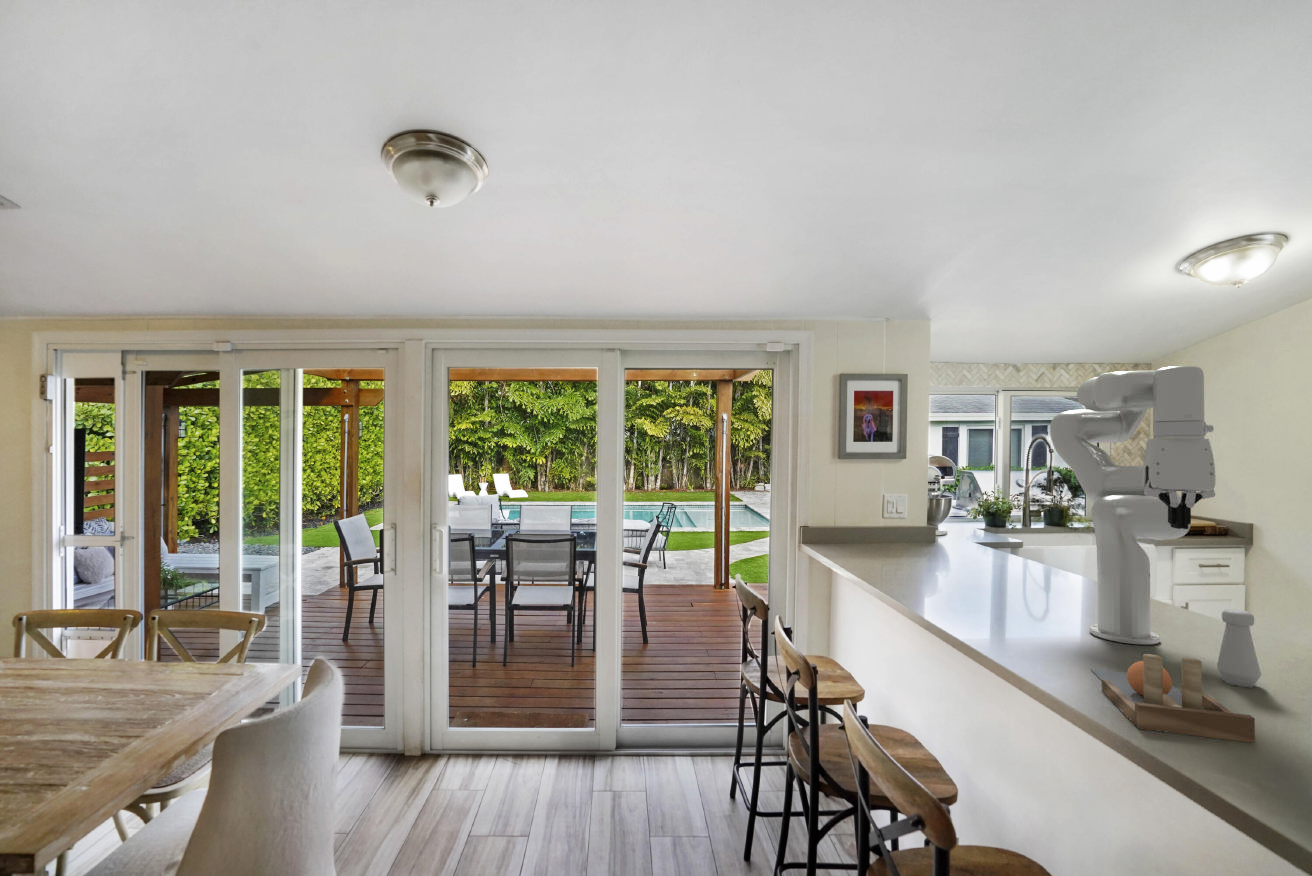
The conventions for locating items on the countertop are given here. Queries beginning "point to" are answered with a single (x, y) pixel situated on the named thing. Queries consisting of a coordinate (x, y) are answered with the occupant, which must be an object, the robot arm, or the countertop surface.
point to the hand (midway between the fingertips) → (1179, 527)
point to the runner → (1123, 685)
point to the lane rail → (1185, 717)
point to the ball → (1137, 678)
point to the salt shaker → (1238, 650)
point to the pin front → (1169, 701)
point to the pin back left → (1191, 683)
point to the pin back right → (1153, 679)
